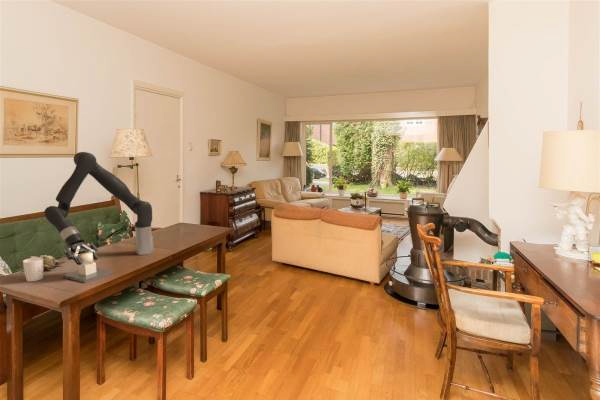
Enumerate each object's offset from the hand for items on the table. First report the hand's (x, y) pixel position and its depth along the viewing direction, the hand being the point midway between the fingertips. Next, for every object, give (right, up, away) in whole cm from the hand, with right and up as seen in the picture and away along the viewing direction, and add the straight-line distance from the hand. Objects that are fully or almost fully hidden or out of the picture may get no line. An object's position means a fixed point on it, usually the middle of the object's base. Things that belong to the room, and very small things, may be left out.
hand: (88, 261), depth 171 cm
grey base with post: (-1, -7, +2) cm, 8 cm away
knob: (-1, -6, +1) cm, 6 cm away
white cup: (-24, -8, -4) cm, 26 cm away
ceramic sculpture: (-30, -6, +12) cm, 33 cm away
